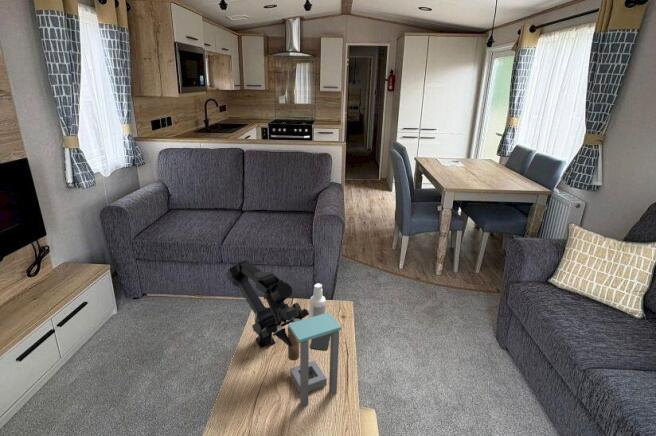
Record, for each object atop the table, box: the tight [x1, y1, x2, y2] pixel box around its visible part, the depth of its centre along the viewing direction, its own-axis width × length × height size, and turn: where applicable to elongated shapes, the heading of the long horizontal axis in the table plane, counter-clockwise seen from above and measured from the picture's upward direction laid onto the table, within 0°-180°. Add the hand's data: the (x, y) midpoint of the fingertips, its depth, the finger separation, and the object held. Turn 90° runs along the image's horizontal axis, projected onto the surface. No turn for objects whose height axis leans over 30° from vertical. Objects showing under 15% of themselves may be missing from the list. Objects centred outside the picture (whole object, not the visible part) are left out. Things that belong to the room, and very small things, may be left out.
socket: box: [289, 360, 328, 393], centre depth 138 cm, size 10×10×3 cm
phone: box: [309, 333, 331, 351], centre depth 161 cm, size 7×1×15 cm
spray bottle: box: [309, 282, 327, 318], centre depth 169 cm, size 7×7×18 cm
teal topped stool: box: [287, 312, 342, 407], centre depth 129 cm, size 10×15×27 cm, turn 118°
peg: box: [287, 326, 300, 361], centre depth 140 cm, size 4×4×13 cm
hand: (295, 344), depth 139 cm, fingers closed on peg, 4 cm apart
